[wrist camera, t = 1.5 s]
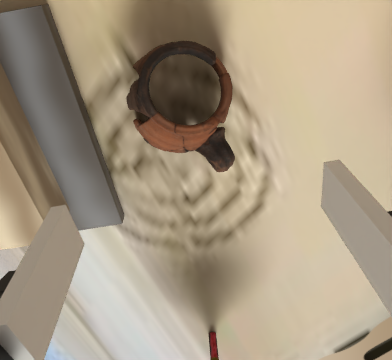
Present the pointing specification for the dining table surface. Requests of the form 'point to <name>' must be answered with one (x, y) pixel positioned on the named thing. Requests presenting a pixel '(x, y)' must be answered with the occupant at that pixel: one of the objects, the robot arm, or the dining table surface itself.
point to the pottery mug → (175, 133)
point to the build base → (45, 135)
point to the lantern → (213, 346)
